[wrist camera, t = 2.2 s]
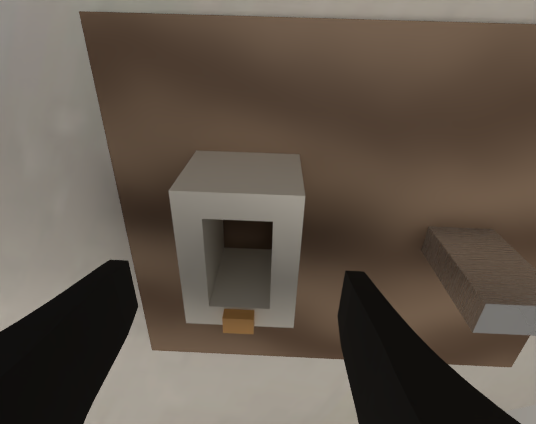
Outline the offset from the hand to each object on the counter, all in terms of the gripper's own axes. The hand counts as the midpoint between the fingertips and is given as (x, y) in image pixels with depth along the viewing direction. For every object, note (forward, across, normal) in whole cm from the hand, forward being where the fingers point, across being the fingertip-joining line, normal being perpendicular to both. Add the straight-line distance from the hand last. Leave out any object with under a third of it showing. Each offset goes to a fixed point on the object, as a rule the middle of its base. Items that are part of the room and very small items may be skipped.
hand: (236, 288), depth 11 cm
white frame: (+5, 0, 0) cm, 5 cm away
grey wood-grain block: (+5, -10, +1) cm, 11 cm away
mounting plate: (+6, -5, +1) cm, 8 cm away
